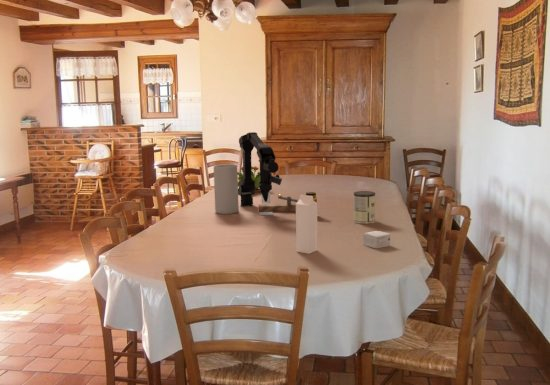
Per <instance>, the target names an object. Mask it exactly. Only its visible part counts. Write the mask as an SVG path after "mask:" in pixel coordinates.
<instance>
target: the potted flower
mask: <svg viewBox="0 0 550 385" xmlns="http://www.w3.org/2000/svg"><path fill="white" fill-rule="evenodd" d="M240 170H241V172H239V171H237V173H238V188H239V186H240V181H241V179H242V178H243V166H241V167H240ZM258 170H259V167H257V166H255V165H254V166H252V165H251V177H252V179H253V181H254V182H255V193H257V192H261V191H260V170H259V171H258ZM256 172H257V174H256Z"/></svg>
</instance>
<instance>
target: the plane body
mask: <svg viewBox="0 0 550 385" xmlns="http://www.w3.org/2000/svg"><path fill="white" fill-rule="evenodd" d="M286 198H287V200H286V203H261V204H258V213H260V212H273V213H275V212H278V213H279V212H296V203H292V201H291V198H292V196H287V197H286Z"/></svg>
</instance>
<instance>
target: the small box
mask: <svg viewBox="0 0 550 385" xmlns="http://www.w3.org/2000/svg"><path fill="white" fill-rule="evenodd" d="M362 241H363V242H362V245H363V246H366V247H370V248H373V249H375V248H377V249H381V248H385V247H391V233H389V232H384V231H380V230H374V231H369V232H364V233H362Z"/></svg>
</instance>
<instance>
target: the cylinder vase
mask: <svg viewBox="0 0 550 385" xmlns="http://www.w3.org/2000/svg"><path fill="white" fill-rule="evenodd" d="M237 172H238V164H230V163H229V164H217V165H215V164H214V165H213V184H214V186H213V187H214V189H213V190H214V211H215V213H217V214H220V215H233V214H237V213H238V212H239V210H240V209H239V195H238V189H239V187H238V181H239V180H238V177H239V175H238V173H239V172H238V173H237Z"/></svg>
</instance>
